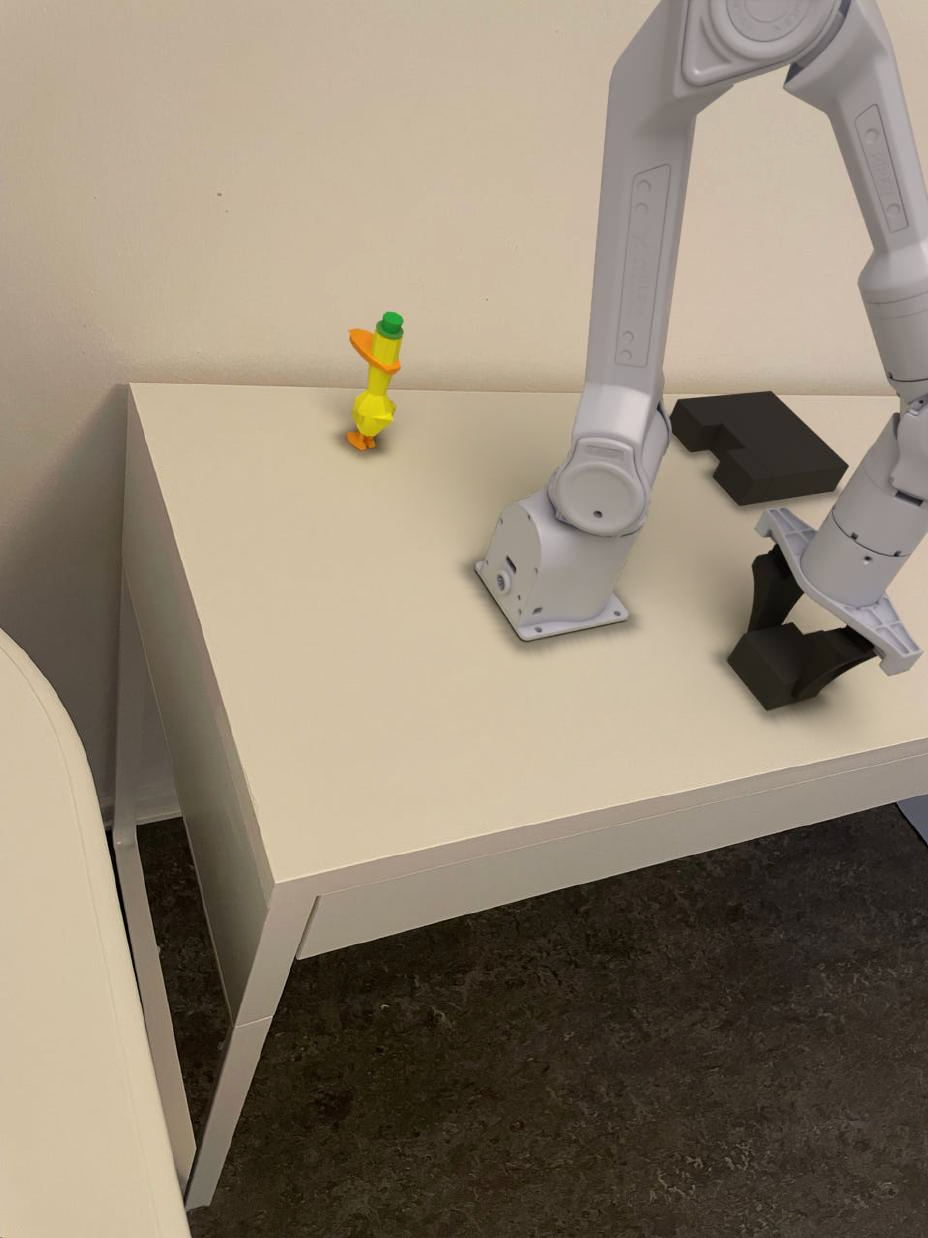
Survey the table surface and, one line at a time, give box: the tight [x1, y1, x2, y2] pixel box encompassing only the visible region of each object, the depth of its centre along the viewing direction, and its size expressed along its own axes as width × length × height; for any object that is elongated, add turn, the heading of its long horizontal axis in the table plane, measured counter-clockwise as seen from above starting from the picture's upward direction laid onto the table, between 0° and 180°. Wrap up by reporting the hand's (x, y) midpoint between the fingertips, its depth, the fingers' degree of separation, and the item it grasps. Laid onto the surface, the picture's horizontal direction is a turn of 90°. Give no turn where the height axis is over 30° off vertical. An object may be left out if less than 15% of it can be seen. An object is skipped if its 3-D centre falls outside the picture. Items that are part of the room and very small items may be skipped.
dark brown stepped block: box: [726, 621, 825, 712], centre depth 76 cm, size 7×5×3 cm
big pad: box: [669, 390, 850, 506], centre depth 97 cm, size 12×12×3 cm
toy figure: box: [346, 311, 405, 452], centre depth 81 cm, size 7×4×12 cm, turn 40°
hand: (779, 666), depth 76 cm, fingers closed on dark brown stepped block, 5 cm apart
